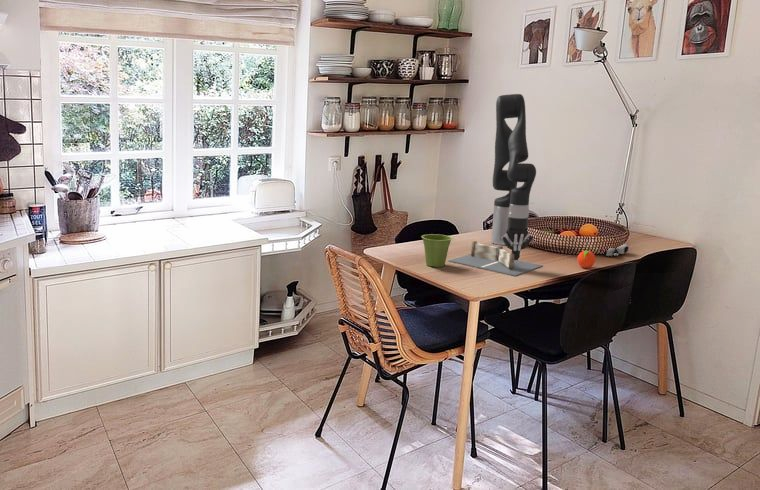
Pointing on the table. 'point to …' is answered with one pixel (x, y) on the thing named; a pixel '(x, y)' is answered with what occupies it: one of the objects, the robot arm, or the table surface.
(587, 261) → the clementine
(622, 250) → the robot toy
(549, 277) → the table surface
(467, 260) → the card
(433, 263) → the plant pot
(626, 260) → the table surface
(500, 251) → the swinging fence section
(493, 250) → the fixed fence section
